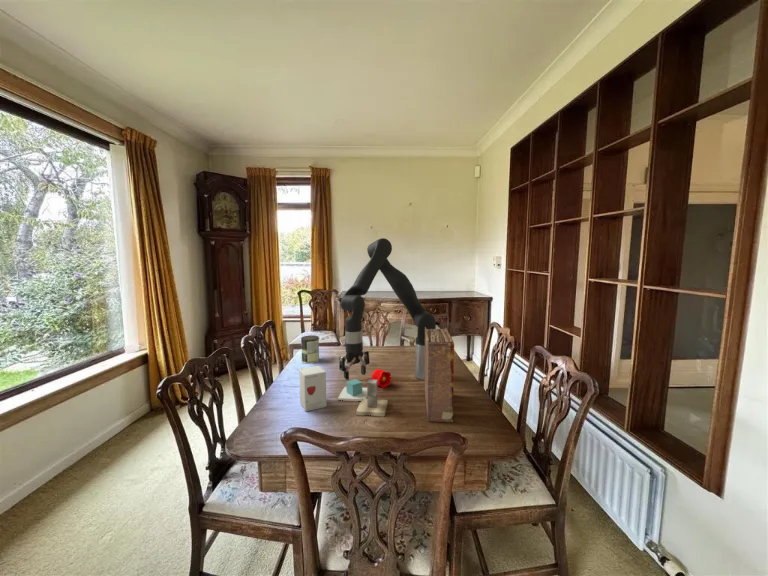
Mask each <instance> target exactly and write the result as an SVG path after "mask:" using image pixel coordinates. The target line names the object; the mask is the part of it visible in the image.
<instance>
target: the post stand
mask: <svg viewBox="0 0 768 576" xmlns="http://www.w3.org/2000/svg"><path fill="white" fill-rule="evenodd" d="M366 384H367V385H366V388H367V399H361V402H359V404H358V406H357V409H356V413H355V414H356V416H364V415H369V416H368V417H384V416H385V417H386V412H387V408H388V403H389V402H388V399H379V398H378V386H377V380H372V379H368V380H367V382H366ZM370 415H371V416H370Z"/></svg>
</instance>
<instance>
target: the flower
mask: <svg viewBox="0 0 768 576" xmlns="http://www.w3.org/2000/svg"><path fill="white" fill-rule="evenodd" d="M391 376H392V375H391V372H389V371H386V370H383V369H381V368H377V369H375V370H374V371H373V372H372V373H371V380H377V387H378V386H379V387H381V388H382V389H384V388H387V387H388V386H389V385H390V384H391V380H392V377H391Z"/></svg>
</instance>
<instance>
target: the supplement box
mask: <svg viewBox="0 0 768 576" xmlns="http://www.w3.org/2000/svg"><path fill="white" fill-rule="evenodd" d="M299 402H300V405H301V406H302V408H303V410H304V412H309V410H310V411H313V410H317V409H318V410H319V409H323V408H327V372H326V371H325V369H324V368H323V367H322V366H321V365H316V366H315V365H314V366H310V367H309V366H308V367H303V368H299Z"/></svg>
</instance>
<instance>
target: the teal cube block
mask: <svg viewBox="0 0 768 576" xmlns="http://www.w3.org/2000/svg"><path fill="white" fill-rule="evenodd" d="M345 384H346V386H345V387H347V393H348V394H350V395H351V396H356V395H358V394H361V393H362V388H363V382H362V381H360V380H359V379H357V378H354V379H351V380H346V383H345Z"/></svg>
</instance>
